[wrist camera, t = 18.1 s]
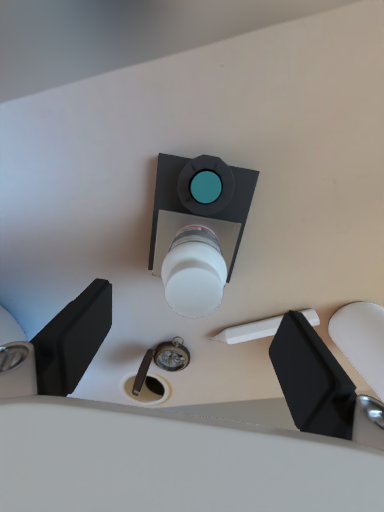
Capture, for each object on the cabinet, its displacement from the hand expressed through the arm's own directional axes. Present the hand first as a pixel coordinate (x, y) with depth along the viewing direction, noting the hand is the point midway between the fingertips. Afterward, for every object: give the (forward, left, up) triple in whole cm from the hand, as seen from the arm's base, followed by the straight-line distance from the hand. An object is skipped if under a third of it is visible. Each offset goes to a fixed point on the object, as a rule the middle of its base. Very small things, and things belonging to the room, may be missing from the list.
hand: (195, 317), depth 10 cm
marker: (+12, +12, -16) cm, 24 cm away
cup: (+9, +28, -16) cm, 34 cm away
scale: (-2, 0, -16) cm, 16 cm away
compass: (+20, -1, -16) cm, 26 cm away
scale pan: (+1, 0, -13) cm, 13 cm away
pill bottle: (0, 0, -13) cm, 13 cm away
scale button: (-6, 0, -13) cm, 15 cm away
